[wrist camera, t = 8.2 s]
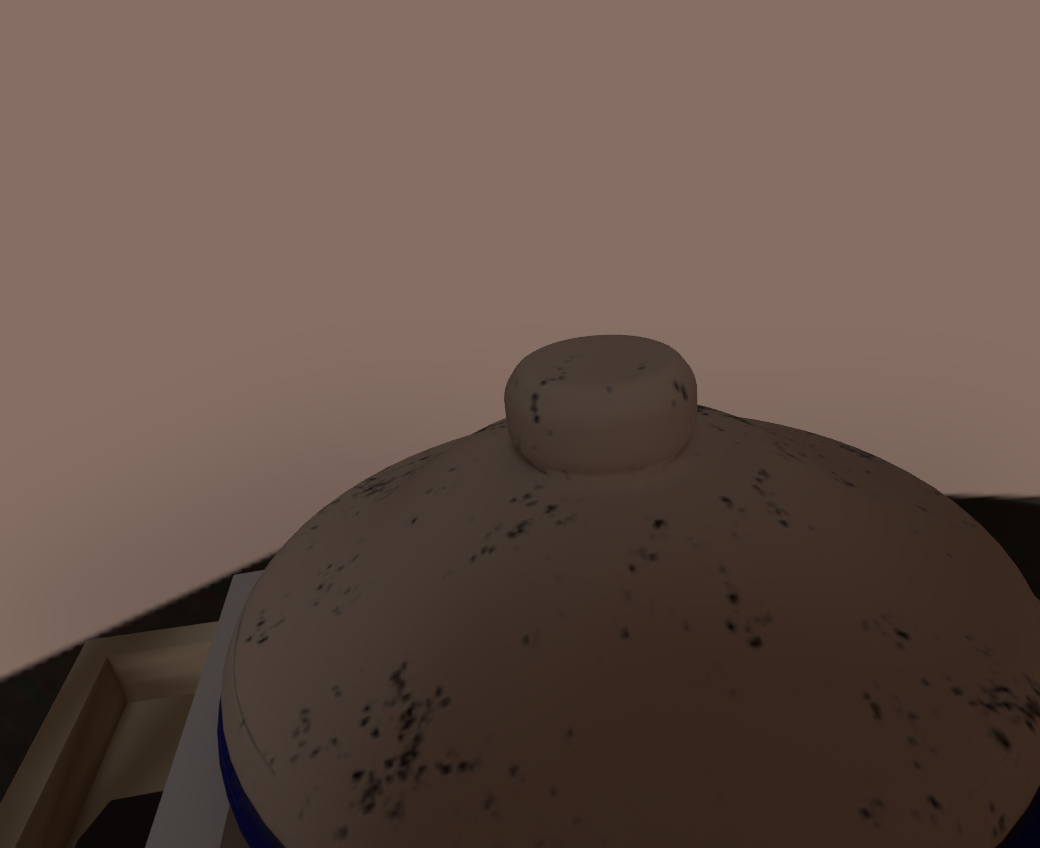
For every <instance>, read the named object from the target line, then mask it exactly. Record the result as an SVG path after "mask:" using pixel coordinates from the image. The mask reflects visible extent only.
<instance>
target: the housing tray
mask: <svg viewBox="0 0 1040 848" xmlns="http://www.w3.org/2000/svg"><path fill="white" fill-rule="evenodd" d="M218 622H219V621H218ZM218 622H211V623H204V624H197V625H190V626H183V627H176V628H169V629H162V630H155V631H148V632H141V633H134V634H127V635H120V636H113V637H106V638H99V639H92V640H87V641H86V643H85V645H84V647H83V648H82V650H81V652H80V654H79V656H78V658H77V660H76V662H75V664H74V665H73V667H72V669H71V671H70V673H69V675H68V677H67V679H66V681H65V682H64V684H63V686H62V688H61V690H60V692H59V694H58V696H57V698H56V699H55V701H54V703H53V705H52V707H51V709H50V711H49V713H48V715H47V716H46V718H45V720H44V722H43V724H42V726H41V728H40V730H39V732H38V733H37V735H36V737H35V739H34V741H33V743H32V745H31V747H30V749H29V750H28V752H27V754H26V756H25V758H24V760H23V762H22V764H21V766H20V768H19V769H18V771H17V773H16V775H15V777H14V779H13V781H12V783H11V785H10V786H9V788H8V790H7V792H6V794H5V796H4V798H3V800H2V802H1V803H0V848H75V845H76V843H77V841H78V839H79V838H80V837H81V836H82V835H83V833H84V832H85V831H86V830H87V828H88V827H89V826H90V825H91V824H92V822H93V821H94V820H95V819H96V818H97V816H98V815H99V814H100V813H101V811H102V810H103V809H104V808H105V807H106V805H107V804H108V803H109V802H110V801H111V800H115V799H121V798H126V797H132V796H137V795H143V794H148V793H154V792H159V791H164V788H165V785H166V782H167V779H168V776H169V773H170V770H171V767H172V763H173V760H174V757H175V754H176V751H177V748H178V745H179V742H180V739H181V736H182V733H183V730H184V727H185V723H186V720H187V717H188V714H189V711H190V708H191V705H192V702H193V699H194V696H195V693H196V690H197V687H198V684H199V680H200V677H201V674H202V671H203V668H204V665H205V662H206V659H207V656H208V653H209V650H210V647H211V644H212V641H213V637H214V634H215V631H216V628H217V625H218Z"/></svg>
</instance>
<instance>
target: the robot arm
mask: <svg viewBox="0 0 1040 848" xmlns="http://www.w3.org/2000/svg"><path fill="white" fill-rule="evenodd" d="M263 571H264V570H262V571H256V572H250V573H243V574H237V575H234V576H233V579H232V582H231V585H230V588H229V591H228V594H227V598H226V601H225V604H224V607H223V610H222V613H221V616H220V619H219V622H218V625H217V628H216V631H215V634H214V637H213V641H212V644H211V647H210V650H209V653H208V656H207V659H206V662H205V665H204V668H203V671H202V674H201V677H200V680H199V684H198V687H197V690H196V693H195V696H194V699H193V702H192V705H191V708H190V711H189V714H188V717H187V720H186V723H185V727H184V730H183V733H182V736H181V739H180V742H179V745H178V748H177V751H176V754H175V757H174V760H173V763H172V767H171V770H170V773H169V776H168V779H167V782H166V785H165V788H164V791H159V792H154V793H148V794H143V795H137V796H132V797H126V798H121V799H115V800H111V801H110V802H109V803H108V804H107V805H106V807H105V808H104V809H103V810H102V811H101V813H100V814H99V815H98V816H97V818H96V819H95V820H94V821H93V822H92V824H91V825H90V826H89V827H88V828H87V830H86V831H85V832H84V833H83V835H82V836H81V837H80V838H79V839H78V841H77V843H76V845H75V848H250V847H249V845H248V844H247V842H246V840H245V839H244V837H243V835H242V833H241V831H240V829H239V826H238V824H237V821H236V819H235V816H234V814H233V811H232V809H231V806H230V804H229V801H228V798H227V795H226V791H225V786H224V782H223V777H222V773H221V769H220V764H219V752H218V738H217V726H218V713H219V702H220V697H221V691H222V677H223V669H224V664H225V660H226V655H227V651H228V646H229V643H230V641H231V637H232V635H233V632H234V629H235V627H236V624H237V621H238V619H239V616H240V613H241V611H242V609H243V606H244V604H245V602H246V600H247V598H248V596H249V595H250V593H251V591H252V589H253V587H254V585H255V583H256V582H257V580H258V579H259V577H260V576H261V574H262V573H263ZM1035 598H1036V597H1035ZM1036 599H1037V598H1036ZM1037 601H1038V603H1039V605H1040V600H1039V599H1037Z"/></svg>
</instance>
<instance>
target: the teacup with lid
mask: <svg viewBox="0 0 1040 848" xmlns="http://www.w3.org/2000/svg"><path fill="white" fill-rule="evenodd" d="M504 402H505V409H506V418H505V419H502V420H500V421H498V422H495V423H493V424H491V425H489V426H487V427H485V428H483V429H481V430H479V431H477V432H475V433H473V434H471V435H469V436H466V437H462V438H459V439H456V440H453V441H450V442H447V443H444V444H441V445H439V446H436V447H433V448H430V449H428V450H425V451H423V452H421V453H418V454H416V455H413V456H411V457H408V458H406V459H404V460H402V461H400V462H398V463H396V464H394V465H392V466H389V467H387V468H386V469H384V470H382V471H380V472H378V473H376V474H374V475H373V476H371V477H369V478H367V479H365V480H364V481H362V482H361V483H359V484H357V485H356V486H354V487H353V488H351V489H349V490H348V491H346V492H345V493H343V494H342V495H341V496H339V497H338V498H337V499H335V500H334V501H332V502H331V503H330V504H328V505H327V506H326V507H324V508H323V509H322V510H320V511H319V512H318V513H317V514H316V515H315V516H313V517H312V518H311V519H310V520H309V521H308V522H306V523H305V524H304V525H303V526H302V527H301V528H300V529H299V530H298V531H297V532H296V533H295V534H294V535H293V536H292V537H291V538H290V539H289V540H288V541H287V542H286V543H285V544H284V546H283V547H282V548H281V549H280V550H279V552H278V553H277V554H276V555H275V556H274V558H273V559H272V560H271V561H270V563H269V564H268V566H267V567H266V569H265V570H264V571H263V573H262V574H261V576H260V577H259V579H258V580H257V582H256V583H255V585H254V587H253V589H252V591H251V593H250V595H249V596H248V598H247V600H246V602H245V604H244V606H243V609H242V611H241V613H240V616H239V619H238V621H237V624H236V627H235V629H234V632H233V635H232V637H231V641H230V643H229V646H228V651H227V655H226V660H225V664H224V669H223V677H222V691H221V697H220V702H219V713H218V726H217V738H218V752H219V764H220V769H221V773H222V777H223V782H224V786H225V791H226V795H227V798H228V801H229V804H230V806H231V809H232V811H233V814H234V816H235V819H236V821H237V824H238V826H239V829H240V831H241V833H242V835H243V837H244V839H245V840H246V842H247V844H248V845H249V847H250V848H1040V605H1039V603H1038V601H1037V599H1036V598H1035V596H1034V594H1033V593H1032V591H1031V589H1030V587H1029V586H1028V584H1027V582H1026V581H1025V579H1024V577H1023V576H1022V574H1021V572H1020V571H1019V569H1018V568H1017V566H1016V565H1015V564H1014V562H1013V561H1012V560H1011V558H1010V557H1009V556H1008V554H1007V553H1006V552H1005V551H1004V549H1003V548H1002V547H1001V545H1000V544H999V543H998V542H997V541H996V540H995V539H994V538H993V537H992V536H991V535H990V534H989V533H988V532H987V531H986V530H985V529H984V528H983V527H982V526H981V525H980V524H979V523H978V522H977V521H976V520H975V519H974V518H973V517H971V516H970V515H969V514H968V513H967V512H966V511H964V510H963V509H962V508H961V507H960V506H958V505H957V504H956V503H955V502H954V501H952V500H951V499H949V498H948V497H946V496H945V495H944V494H942V493H941V492H939V491H938V490H937V489H935V488H934V487H932V486H931V485H929V484H927V483H925V482H924V481H922V480H920V479H919V478H917V477H915V476H914V475H912V474H910V473H909V472H907V471H905V470H903V469H901V468H899V467H897V466H895V465H893V464H891V463H889V462H887V461H885V460H883V459H881V458H879V457H876V456H874V455H872V454H869V453H867V452H865V451H862V450H860V449H858V448H855V447H853V446H850V445H847V444H844V443H842V442H839V441H836V440H833V439H830V438H827V437H823V436H820V435H817V434H814V433H810V432H807V431H803V430H799V429H795V428H791V427H787V426H783V425H779V424H774V423H769V422H764V421H759V420H754V419H747V418H741V417H736V416H733V415H730V414H727V413H724V412H721V411H718V410H715V409H712V408H709V407H704V406H700V405H697V384H696V379H695V377H694V374H693V372H692V370H691V368H690V366H689V365H688V364H687V362H686V361H685V360H684V359H683V358H682V356H681V355H680V354H679V353H678V352H677V351H675V350H674V349H673V348H671V347H670V346H668V345H666V344H664V343H661V342H658V341H655V340H651V339H648V338H643V337H637V336H627V335H596V336H586V337H579V338H573V339H568V340H564V341H560V342H556V343H553V344H550V345H547V346H545V347H543V348H540V349H538V350H536V351H534V352H532V353H531V354H529V355H528V356H526V357H525V358H524V359H523V360H522V361H521V362H520V363H519V364H518V365H517V366H516V368H515V370H514V371H513V373H512V375H511V376H510V378H509V380H508V382H507V385H506V388H505V396H504Z"/></svg>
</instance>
